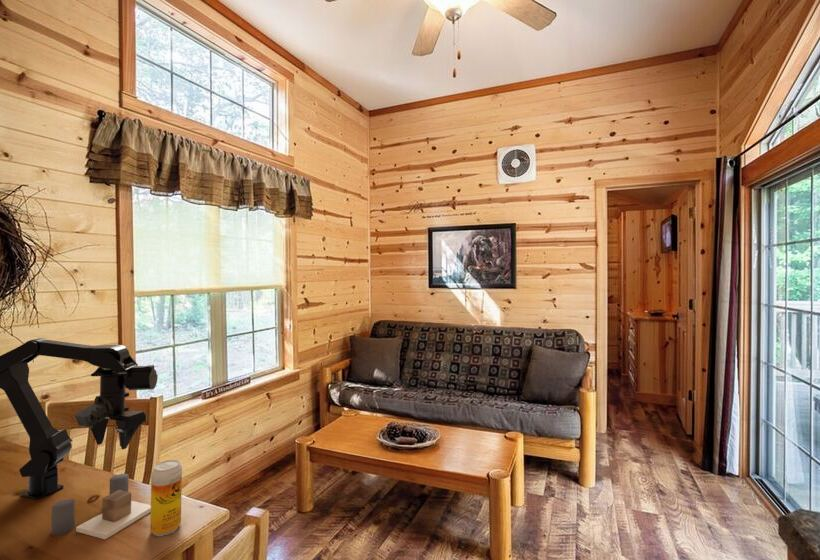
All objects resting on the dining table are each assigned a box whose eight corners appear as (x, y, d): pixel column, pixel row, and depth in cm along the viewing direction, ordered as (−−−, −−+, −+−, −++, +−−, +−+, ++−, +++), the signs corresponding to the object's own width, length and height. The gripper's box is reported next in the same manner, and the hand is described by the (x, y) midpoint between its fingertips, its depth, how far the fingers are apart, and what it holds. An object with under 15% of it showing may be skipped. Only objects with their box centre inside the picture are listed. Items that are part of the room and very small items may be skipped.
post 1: (46, 533, 90) (47, 506, 90) (66, 523, 94) (67, 497, 94) (59, 536, 89) (59, 510, 89) (78, 526, 93) (79, 500, 93)
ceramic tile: (76, 531, 91) (76, 527, 91) (127, 503, 102) (127, 499, 102) (105, 539, 88) (105, 535, 88) (153, 509, 100) (153, 505, 100)
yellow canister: (166, 539, 89) (167, 472, 89) (143, 535, 90) (144, 469, 90) (186, 523, 95) (188, 460, 95) (165, 519, 96) (166, 457, 96)
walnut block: (102, 519, 94) (102, 498, 94) (118, 509, 98) (119, 489, 98) (114, 522, 93) (114, 501, 93) (130, 513, 97) (131, 492, 97)
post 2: (105, 502, 102) (105, 479, 102) (120, 495, 106) (121, 472, 106) (116, 505, 101) (117, 482, 101) (131, 497, 105) (132, 475, 105)
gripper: (56, 395, 106) (55, 453, 106) (108, 402, 100) (106, 464, 100) (99, 385, 116) (98, 438, 116) (148, 391, 111) (147, 446, 111)
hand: (111, 446), depth 111 cm, fingers open, 9 cm apart
